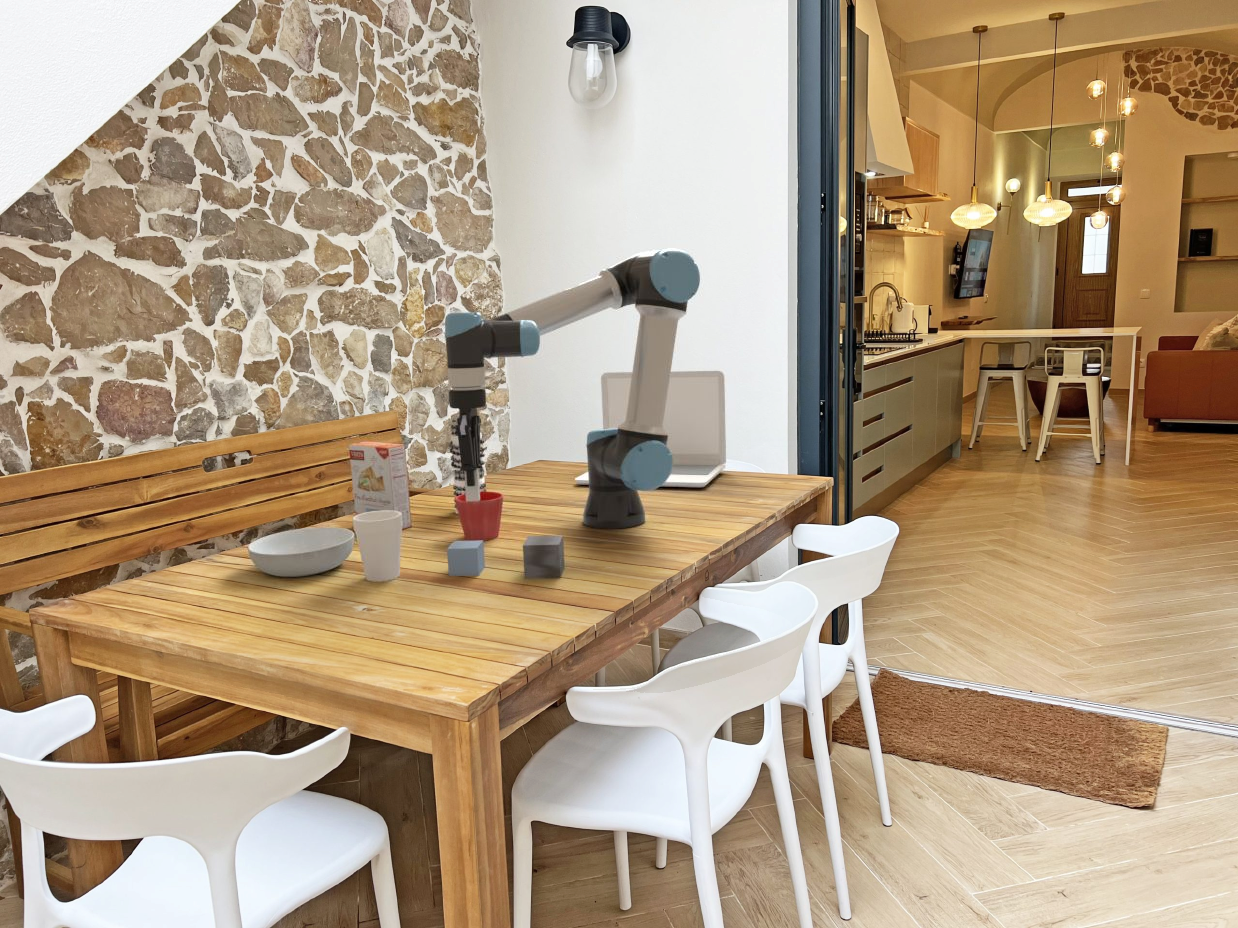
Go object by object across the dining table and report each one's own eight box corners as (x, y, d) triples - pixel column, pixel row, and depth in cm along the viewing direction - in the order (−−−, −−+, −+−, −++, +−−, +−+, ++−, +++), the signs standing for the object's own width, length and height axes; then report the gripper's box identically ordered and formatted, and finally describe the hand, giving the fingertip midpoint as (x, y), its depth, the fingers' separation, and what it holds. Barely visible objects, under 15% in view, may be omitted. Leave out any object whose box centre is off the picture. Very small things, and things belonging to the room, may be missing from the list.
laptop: (573, 485, 270) (568, 381, 265) (606, 466, 299) (602, 372, 294) (705, 488, 258) (703, 379, 253) (727, 468, 287) (725, 370, 282)
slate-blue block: (485, 568, 187) (483, 540, 186) (479, 577, 181) (477, 548, 180) (456, 569, 187) (454, 541, 186) (449, 578, 181) (446, 548, 180)
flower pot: (497, 543, 207) (494, 501, 205) (451, 542, 209) (448, 500, 207) (511, 531, 217) (509, 491, 215) (467, 531, 219) (465, 491, 217)
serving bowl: (249, 566, 196) (246, 535, 195) (350, 552, 204) (347, 522, 203) (252, 593, 177) (248, 558, 176) (363, 576, 185) (360, 543, 184)
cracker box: (355, 527, 228) (347, 444, 224) (373, 521, 233) (366, 440, 229) (394, 533, 220) (387, 447, 216) (412, 527, 225) (406, 443, 221)
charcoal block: (564, 569, 184) (563, 535, 183) (560, 579, 178) (558, 544, 176) (530, 569, 185) (528, 536, 184) (524, 580, 178) (522, 545, 177)
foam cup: (416, 574, 185) (411, 511, 182) (390, 588, 176) (384, 522, 174) (375, 571, 188) (370, 509, 186) (348, 584, 179) (342, 520, 177)
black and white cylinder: (492, 506, 245) (486, 413, 240) (484, 514, 236) (477, 418, 231) (459, 507, 246) (452, 414, 241) (449, 515, 236) (442, 419, 232)
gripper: (456, 386, 195) (462, 494, 199) (441, 391, 183) (448, 507, 186) (491, 385, 195) (496, 493, 199) (478, 390, 182) (484, 506, 186)
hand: (473, 500), depth 193 cm, fingers closed
